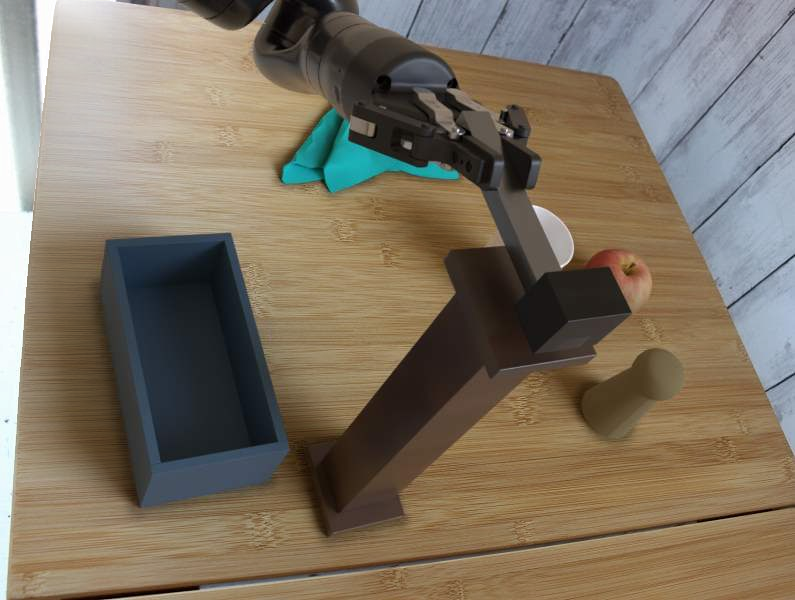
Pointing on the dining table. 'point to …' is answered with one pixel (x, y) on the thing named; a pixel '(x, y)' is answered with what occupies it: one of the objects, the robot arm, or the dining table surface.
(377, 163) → the cloth
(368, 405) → the stand
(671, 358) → the olive game pawn
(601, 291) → the grey mallet
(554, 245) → the white cup
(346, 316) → the dining table surface
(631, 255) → the apple
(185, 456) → the bin
